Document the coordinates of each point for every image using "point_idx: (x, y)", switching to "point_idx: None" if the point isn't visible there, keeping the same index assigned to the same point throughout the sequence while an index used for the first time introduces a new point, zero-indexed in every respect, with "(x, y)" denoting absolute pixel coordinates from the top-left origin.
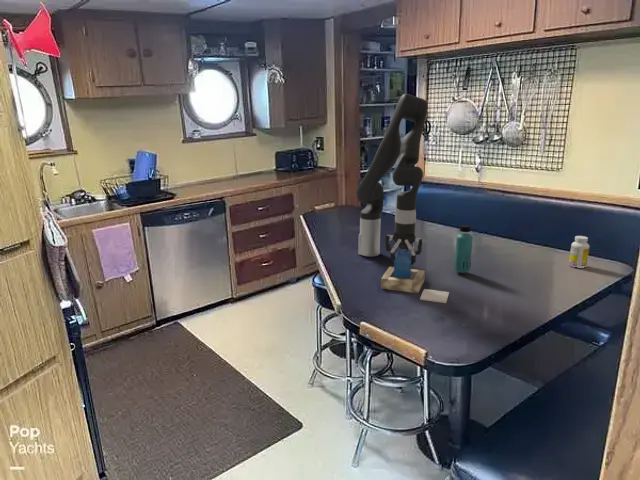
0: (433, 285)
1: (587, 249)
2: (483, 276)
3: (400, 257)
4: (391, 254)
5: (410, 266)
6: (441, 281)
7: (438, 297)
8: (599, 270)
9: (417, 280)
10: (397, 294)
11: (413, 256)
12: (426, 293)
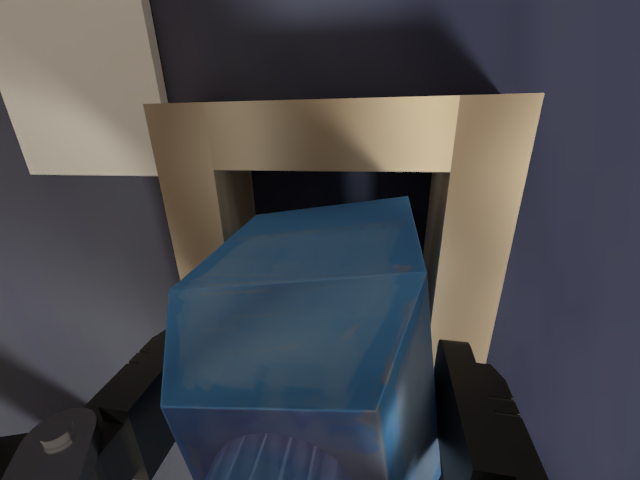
0: (162, 272)
1: None
2: (25, 422)
3: (317, 353)
4: (521, 459)
5: (202, 263)
6: (147, 337)
7: (36, 45)
8: None
9: (177, 168)
10: (336, 7)
11: (114, 406)
12: (131, 92)
